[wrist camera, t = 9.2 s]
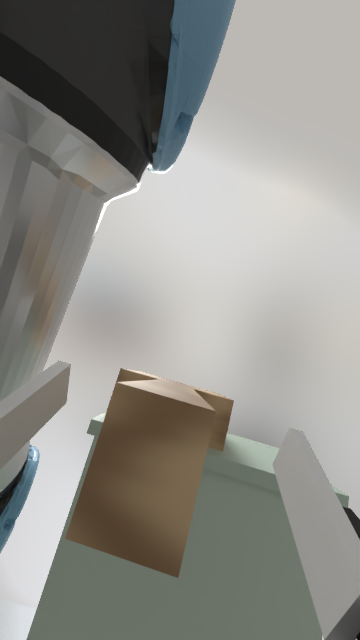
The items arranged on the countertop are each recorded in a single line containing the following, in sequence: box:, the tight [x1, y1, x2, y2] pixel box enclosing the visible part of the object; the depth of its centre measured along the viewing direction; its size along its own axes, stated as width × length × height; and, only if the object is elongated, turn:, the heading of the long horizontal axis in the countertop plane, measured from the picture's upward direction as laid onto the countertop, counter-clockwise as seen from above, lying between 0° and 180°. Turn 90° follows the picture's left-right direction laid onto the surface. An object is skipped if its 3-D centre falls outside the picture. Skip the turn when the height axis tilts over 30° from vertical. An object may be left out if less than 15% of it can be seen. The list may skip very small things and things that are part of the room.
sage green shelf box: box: [27, 412, 349, 640], centre depth 19 cm, size 19×11×30 cm, turn 91°
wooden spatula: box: [65, 368, 234, 578], centre depth 17 cm, size 10×22×4 cm, turn 0°
